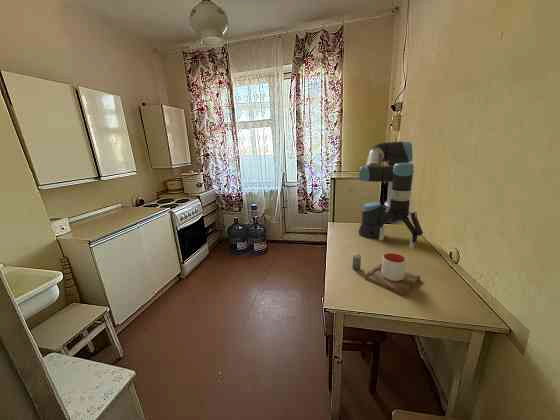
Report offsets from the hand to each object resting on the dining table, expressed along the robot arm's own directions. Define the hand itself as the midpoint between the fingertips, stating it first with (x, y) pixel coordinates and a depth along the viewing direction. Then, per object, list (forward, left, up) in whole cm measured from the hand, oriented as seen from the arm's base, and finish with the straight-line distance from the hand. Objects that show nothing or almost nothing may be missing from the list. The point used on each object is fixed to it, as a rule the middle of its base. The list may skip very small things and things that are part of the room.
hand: (395, 243), depth 104 cm
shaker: (+4, -17, -18) cm, 25 cm away
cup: (0, 0, -17) cm, 17 cm away
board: (0, 0, -18) cm, 19 cm away
